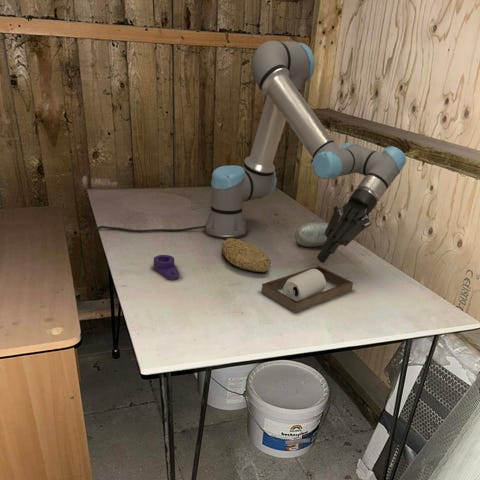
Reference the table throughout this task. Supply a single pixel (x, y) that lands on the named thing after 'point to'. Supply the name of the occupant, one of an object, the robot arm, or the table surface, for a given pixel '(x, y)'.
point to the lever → (166, 267)
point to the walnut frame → (296, 306)
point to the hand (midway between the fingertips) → (320, 260)
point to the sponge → (245, 255)
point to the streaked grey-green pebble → (312, 234)
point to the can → (305, 285)
